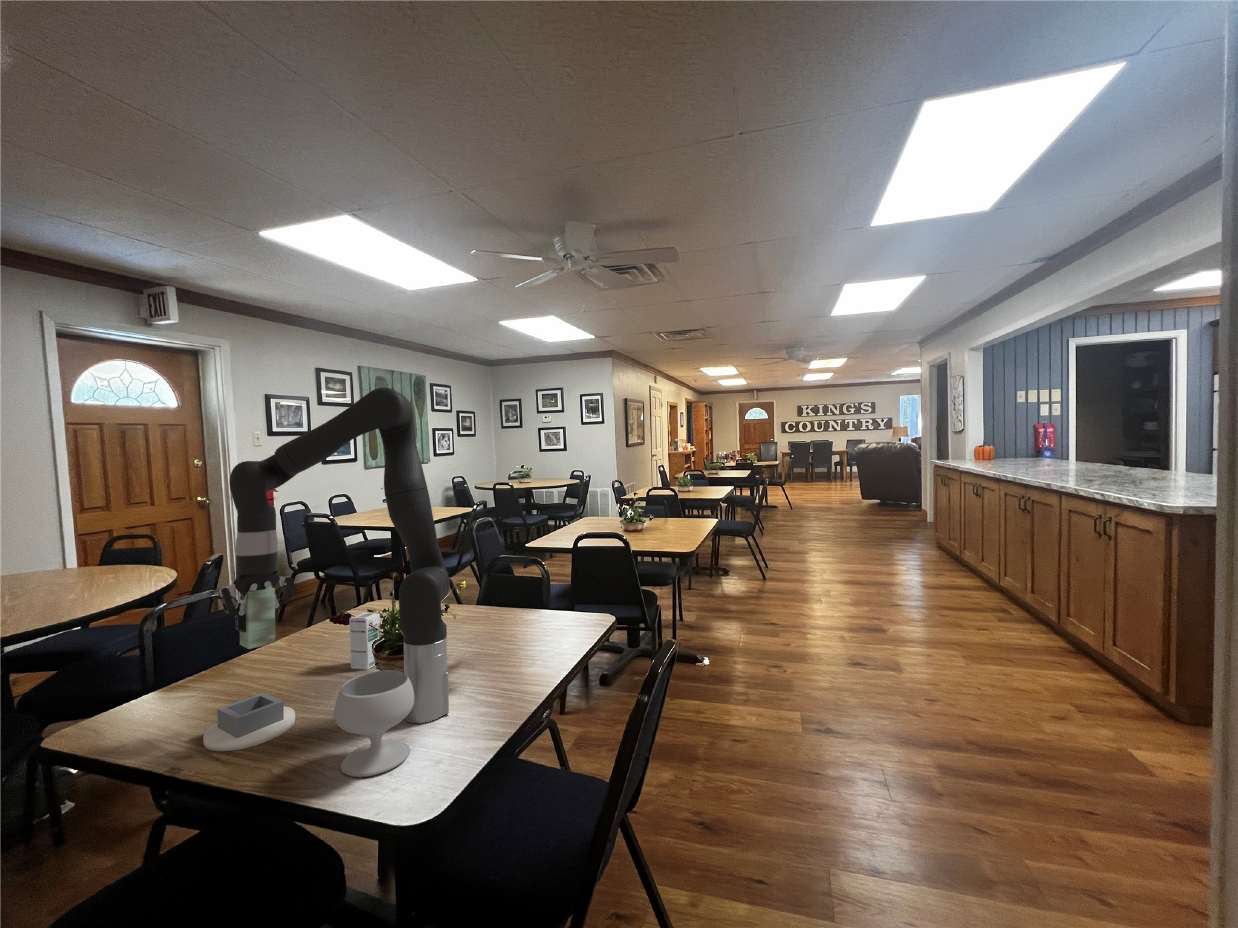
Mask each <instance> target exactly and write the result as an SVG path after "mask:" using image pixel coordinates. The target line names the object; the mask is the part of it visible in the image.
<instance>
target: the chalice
mask: <svg viewBox="0 0 1238 928" xmlns="http://www.w3.org/2000/svg"><path fill="white" fill-rule="evenodd" d="M334 704H335V705H334V710H333V715H334V720H335V722H336V725H337V726H339V727H340V728H341V730H343V731H345V732H348V733H350V734H354V735H362V736H366V737H367V738H368V739H369V741H370V742H369V743H367V744H364V745H362V746H360V747H358V748H356V749H354V750H352V751H350V753H349V754H348V755H346V756H345V757H344V758H343V760H342V761H341V764H340V771H342V773H343V774H345V775H346V776H349V777H355V778H362V777H371V776H377V775H380V774H383V773H386V772H389V771H390V770H393V769H395V768H396V767H398V766H399V765H401V764H403V762H404V761H406V759H407V758H409V755H410V753H411V748H410V746H409V745H408V744H407V743H406V742H404V741H401V740H397V739H385V740H382V737H383V736H384V734H385V733H386V732H387V731H388V730H389V729H391V728H393V727H394V726H396V725H398V724H399V723H401V722H402V721H403V720H404V719H405V717H406V716H407V715H408V714H409V713H410V711H411V709H412V707H413V705H414V690H413V686H412V683H411V681H410V679H409V677H408V676H407V675H406V674H405V673H404V671H403V672H402V671H400V670H395V669H391V670H390V669H388V670H387V669H386V670H376V671H371V672H367V673H364V674H359V675H358V676H355V677H353V678H351V679H349V680H347V681H346V682H345V683H344V684H343V685H342V686H341V688H340V689H339V691H338V693H337V697H336V701H335V703H334Z"/></svg>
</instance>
